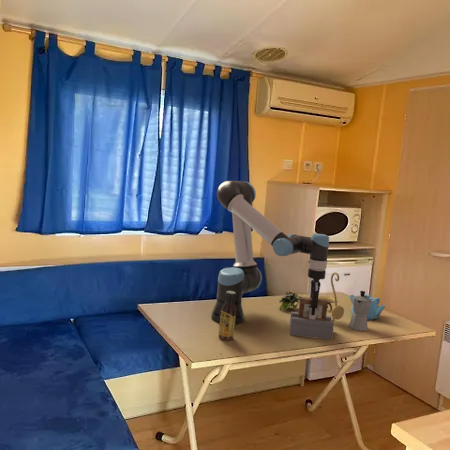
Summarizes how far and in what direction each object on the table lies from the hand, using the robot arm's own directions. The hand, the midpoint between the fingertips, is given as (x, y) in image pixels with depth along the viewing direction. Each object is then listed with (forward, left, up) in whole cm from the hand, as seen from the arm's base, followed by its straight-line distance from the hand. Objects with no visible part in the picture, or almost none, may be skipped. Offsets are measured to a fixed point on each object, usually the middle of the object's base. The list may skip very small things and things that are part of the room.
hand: (311, 320), depth 204 cm
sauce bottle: (-36, -19, -6) cm, 41 cm away
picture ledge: (0, 0, -6) cm, 6 cm away
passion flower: (-8, +30, -6) cm, 32 cm away
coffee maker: (+24, +15, -6) cm, 29 cm away
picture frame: (0, 0, 0) cm, 0 cm away
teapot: (+30, +35, -6) cm, 47 cm away
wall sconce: (+10, +18, -6) cm, 21 cm away
